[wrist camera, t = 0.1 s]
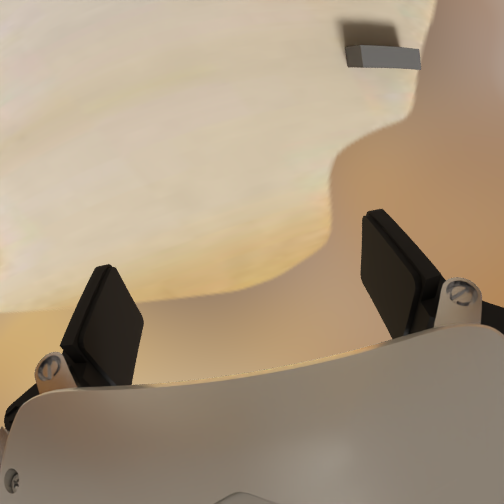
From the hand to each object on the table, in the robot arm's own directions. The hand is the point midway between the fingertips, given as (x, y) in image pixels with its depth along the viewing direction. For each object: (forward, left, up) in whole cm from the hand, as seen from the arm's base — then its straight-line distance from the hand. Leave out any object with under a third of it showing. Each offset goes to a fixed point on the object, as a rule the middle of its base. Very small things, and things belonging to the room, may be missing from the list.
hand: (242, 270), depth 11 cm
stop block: (-7, +22, -32) cm, 39 cm away
